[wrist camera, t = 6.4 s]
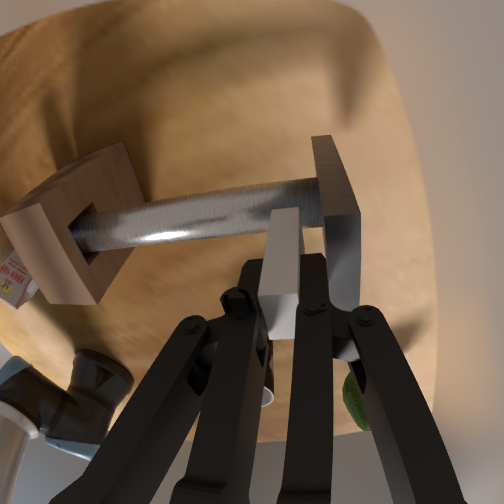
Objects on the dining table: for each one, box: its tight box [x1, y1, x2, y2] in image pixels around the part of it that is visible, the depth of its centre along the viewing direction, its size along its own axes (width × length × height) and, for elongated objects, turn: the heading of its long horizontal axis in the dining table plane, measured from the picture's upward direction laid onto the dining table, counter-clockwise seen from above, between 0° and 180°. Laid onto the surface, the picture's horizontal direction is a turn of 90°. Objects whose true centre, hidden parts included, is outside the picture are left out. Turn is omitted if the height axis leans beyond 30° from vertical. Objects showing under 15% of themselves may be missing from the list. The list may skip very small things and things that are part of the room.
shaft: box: [67, 135, 361, 312], centre depth 21 cm, size 26×6×12 cm, turn 102°
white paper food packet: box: [0, 249, 39, 309], centre depth 38 cm, size 4×7×10 cm, turn 65°
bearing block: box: [0, 141, 146, 305], centre depth 27 cm, size 7×10×14 cm
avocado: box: [342, 372, 371, 431], centre depth 41 cm, size 8×8×12 cm
